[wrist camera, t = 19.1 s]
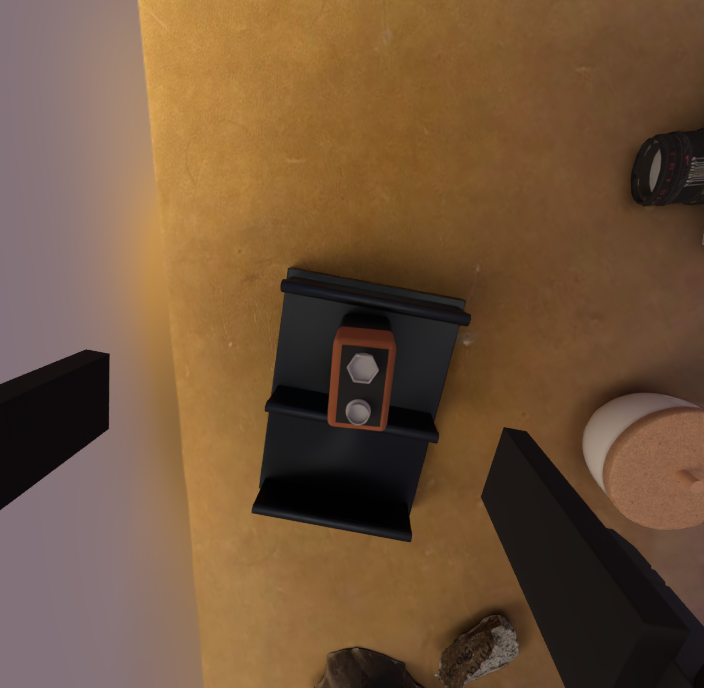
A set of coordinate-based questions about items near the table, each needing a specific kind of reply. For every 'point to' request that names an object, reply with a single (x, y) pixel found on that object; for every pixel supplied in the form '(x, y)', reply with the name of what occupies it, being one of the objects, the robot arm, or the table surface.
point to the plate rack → (349, 443)
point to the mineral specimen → (364, 671)
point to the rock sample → (478, 652)
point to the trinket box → (649, 458)
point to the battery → (361, 373)
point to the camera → (670, 170)
